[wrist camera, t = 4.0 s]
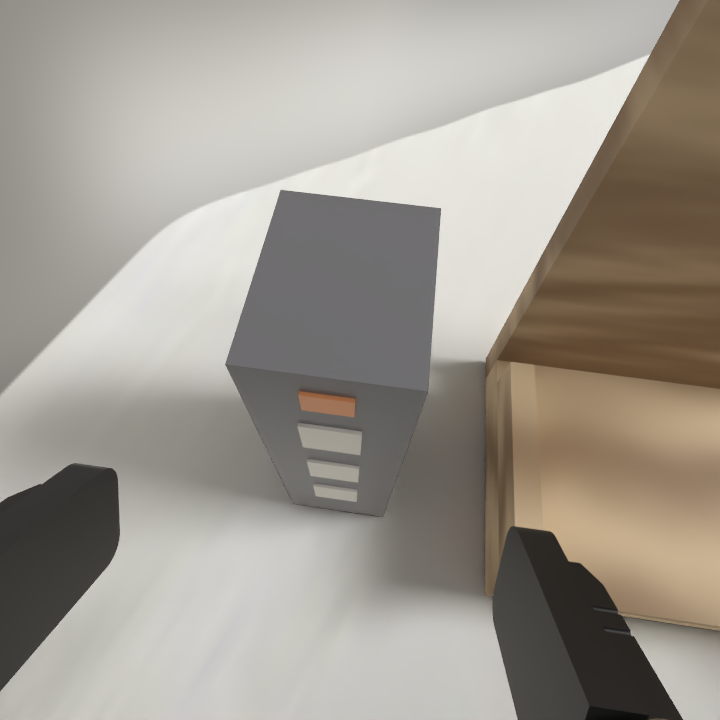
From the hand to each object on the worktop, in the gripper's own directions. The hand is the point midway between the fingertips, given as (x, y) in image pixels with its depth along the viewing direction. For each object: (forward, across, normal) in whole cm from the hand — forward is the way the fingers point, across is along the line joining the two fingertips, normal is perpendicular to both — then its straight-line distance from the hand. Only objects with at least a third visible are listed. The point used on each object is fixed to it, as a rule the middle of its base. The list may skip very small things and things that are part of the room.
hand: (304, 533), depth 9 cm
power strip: (+12, 0, +4) cm, 12 cm away
